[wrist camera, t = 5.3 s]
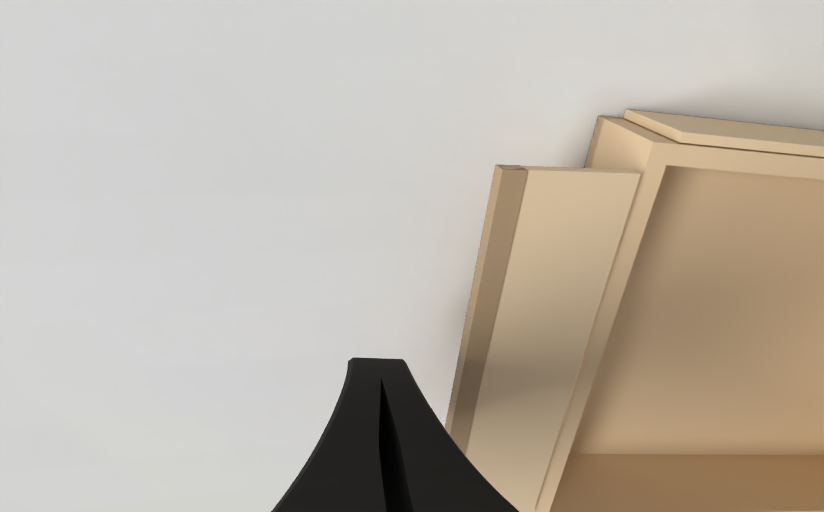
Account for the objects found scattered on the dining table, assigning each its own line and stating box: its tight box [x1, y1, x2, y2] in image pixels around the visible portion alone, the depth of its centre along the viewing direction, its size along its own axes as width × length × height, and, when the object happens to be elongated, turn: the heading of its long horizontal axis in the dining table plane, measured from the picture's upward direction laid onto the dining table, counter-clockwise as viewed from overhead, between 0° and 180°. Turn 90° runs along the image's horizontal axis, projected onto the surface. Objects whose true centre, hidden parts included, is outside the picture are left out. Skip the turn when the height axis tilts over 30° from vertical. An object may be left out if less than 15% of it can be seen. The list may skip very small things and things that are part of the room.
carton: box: [533, 109, 824, 512], centre depth 17 cm, size 14×14×3 cm
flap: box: [445, 165, 641, 512], centre depth 14 cm, size 12×1×4 cm
